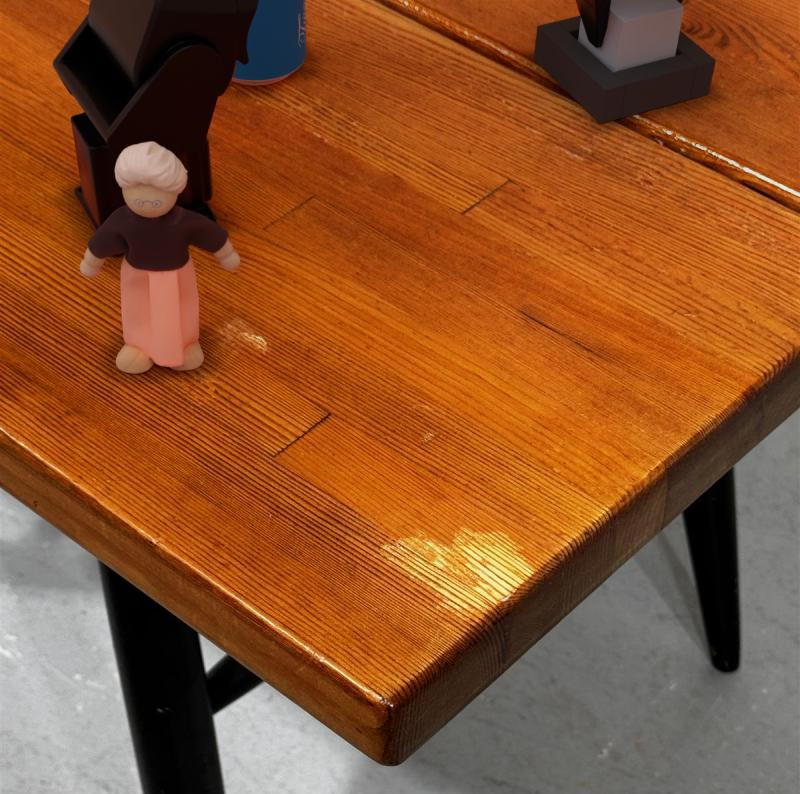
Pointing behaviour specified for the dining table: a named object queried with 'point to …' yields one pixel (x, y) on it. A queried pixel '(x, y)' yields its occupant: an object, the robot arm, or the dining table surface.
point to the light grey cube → (637, 33)
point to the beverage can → (274, 43)
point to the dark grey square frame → (620, 74)
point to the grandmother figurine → (156, 260)
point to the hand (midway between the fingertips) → (626, 36)
